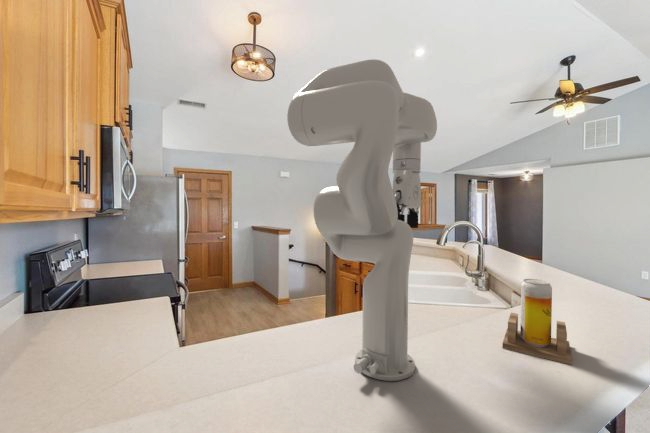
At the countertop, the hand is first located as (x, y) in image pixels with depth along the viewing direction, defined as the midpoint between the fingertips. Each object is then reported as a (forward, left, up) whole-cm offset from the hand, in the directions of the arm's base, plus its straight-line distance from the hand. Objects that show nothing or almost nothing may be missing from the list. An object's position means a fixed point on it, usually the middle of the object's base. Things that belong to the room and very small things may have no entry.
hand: (405, 228), depth 83 cm
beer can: (+8, -30, -27) cm, 41 cm away
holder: (+8, -30, -28) cm, 42 cm away
